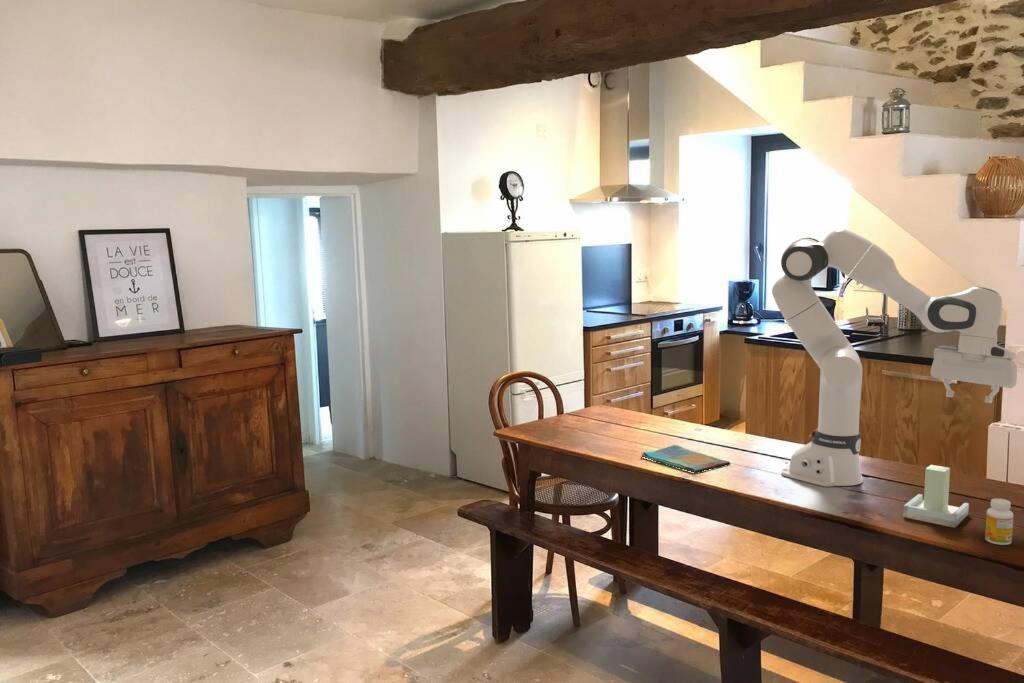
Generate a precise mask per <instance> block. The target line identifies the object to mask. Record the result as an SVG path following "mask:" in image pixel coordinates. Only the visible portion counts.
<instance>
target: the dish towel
mask: <svg viewBox="0 0 1024 683" xmlns="http://www.w3.org/2000/svg"><path fill="white" fill-rule="evenodd" d="M641 456H642V457H645V458H648V459H651V460H653V461H656V462H660V463H663V464H662V465H664V464H667V465H670V466H674V467H677V468H680V469H684V470H687V471H691V472H694V473H697V474H699V473H698V472H701V473H703V472H702V471H704V470H709V469H712V470H715V469H714V468H716V469H719V467H720V468H723V467H722V466H724V467H726V466H725V465H727V466H730V465H729V464H731V462H730V461H728V460H723V459H720V458H717V457H714V456H712V455H707V454H705V453H701V452H697V451H693V450H690V449H687V448H684V447H682V446H680V445H675V444H672V445H669V446H667V447H664V448H660V449H657V450H654V451H653V450H652V451H643V452H642V453H641ZM656 462H655V463H656ZM660 463H659V464H660ZM667 465H666V466H667ZM670 466H669V467H670ZM677 468H676V469H677ZM680 469H679V470H680ZM709 471H710V470H709Z"/></svg>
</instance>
